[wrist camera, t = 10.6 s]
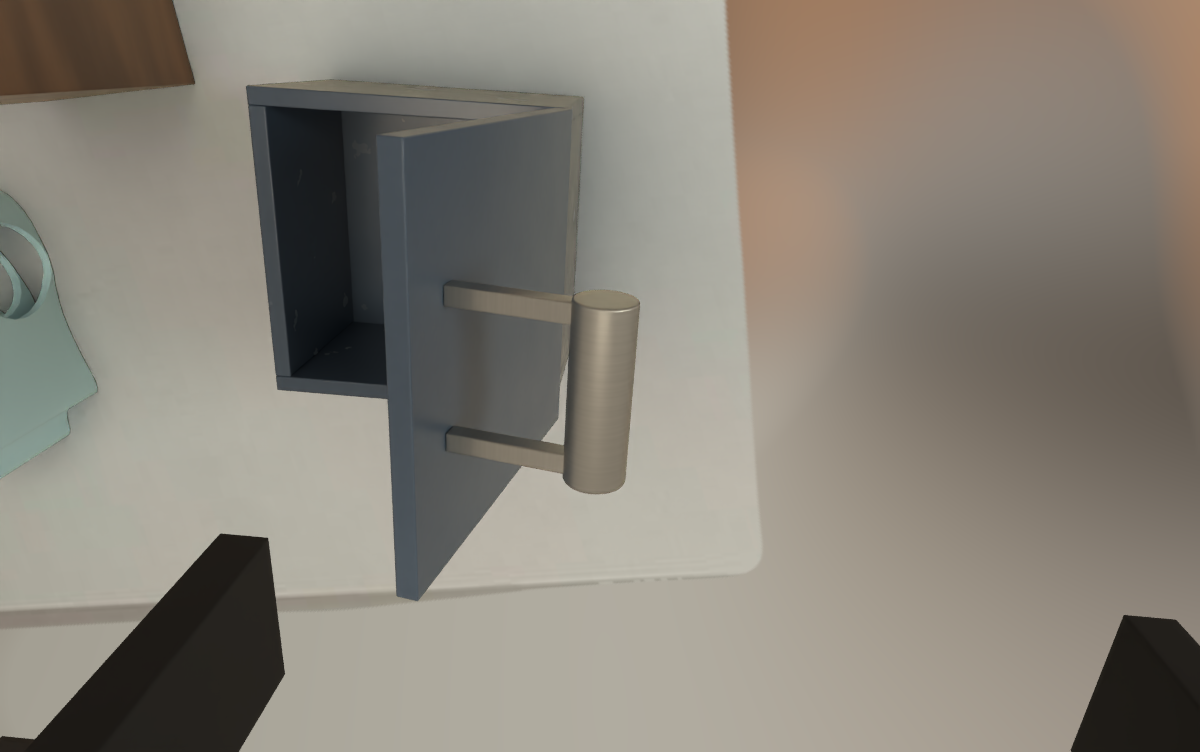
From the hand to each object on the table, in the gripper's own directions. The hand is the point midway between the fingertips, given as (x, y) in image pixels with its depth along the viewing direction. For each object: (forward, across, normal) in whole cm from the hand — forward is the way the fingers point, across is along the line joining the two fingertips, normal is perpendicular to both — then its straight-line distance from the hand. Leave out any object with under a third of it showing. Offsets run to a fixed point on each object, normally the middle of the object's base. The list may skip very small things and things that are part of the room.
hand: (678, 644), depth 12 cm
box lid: (+18, -7, -1) cm, 19 cm away
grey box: (+36, -12, -1) cm, 37 cm away
